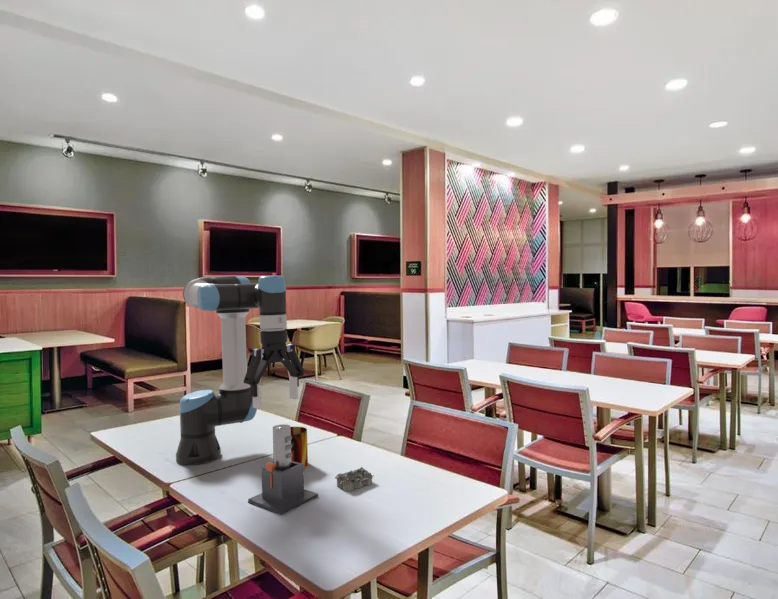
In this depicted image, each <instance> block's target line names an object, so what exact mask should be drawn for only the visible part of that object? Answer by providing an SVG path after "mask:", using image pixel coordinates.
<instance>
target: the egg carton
mask: <svg viewBox="0 0 778 599" xmlns="http://www.w3.org/2000/svg"><path fill="white" fill-rule="evenodd" d="M373 477H375V475H372V473H371V472H369V471H368V470H367V469H365V468H364V467H362V466H361V467H360V468H357V469H354V470H349V471H347V472H344V473H338V474H337V475H336V476H335V477H334V479H336V487H337V488H338V489H339V488H342V491H344V492H352V491H353V489H361V488H362V487H363V486H371V485H372V483H373Z"/></svg>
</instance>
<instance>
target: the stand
mask: <svg viewBox="0 0 778 599" xmlns="http://www.w3.org/2000/svg"><path fill="white" fill-rule="evenodd" d="M304 470H305V468H304V464H301V463H298V462H294V461H291V468H289V469H287V470H284V471H279V470H275V463H274V461H273V462H271V461H269V462H266V463H265V465H263V466H261V493H259V494H257V495H254V496H252V497H250V498H248V499H247V500H248V503H249V504H251V505H253V506H256V507H259V508H261V509H265V510H267V511H270V512H272V513H274V514H277V515H280V516H282V515H285V514H287V513H288V512H291V511H294V510H296V509H297V508H299V507H301V506H303V505H305V504H307V503H309V502H310V501H313V500H316V499H317V498H318V497H319V493H318V492H314V491H311V490H308V489H305V472H304Z"/></svg>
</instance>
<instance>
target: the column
mask: <svg viewBox="0 0 778 599" xmlns="http://www.w3.org/2000/svg"><path fill="white" fill-rule="evenodd" d="M290 427H291V425H289V424H276V425H274V426H272V445H273V446H272V449H273V452H272V454H273V462H274V463H275V470H279V471H284V470H287V469H289V468H291V457H292V453H291V448H292V444H291V440H292V436H291V429H290Z"/></svg>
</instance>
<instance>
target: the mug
mask: <svg viewBox="0 0 778 599" xmlns="http://www.w3.org/2000/svg"><path fill="white" fill-rule="evenodd" d="M290 429H291V436H292V440H291V444H292V448H291V453H292V457H291V461H294V462H298V463H301V464H304V469H305V468H307V467H308V466H309V460H308V458H309V457H308V454H309V453H308V429H307V427H303V426H290Z"/></svg>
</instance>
